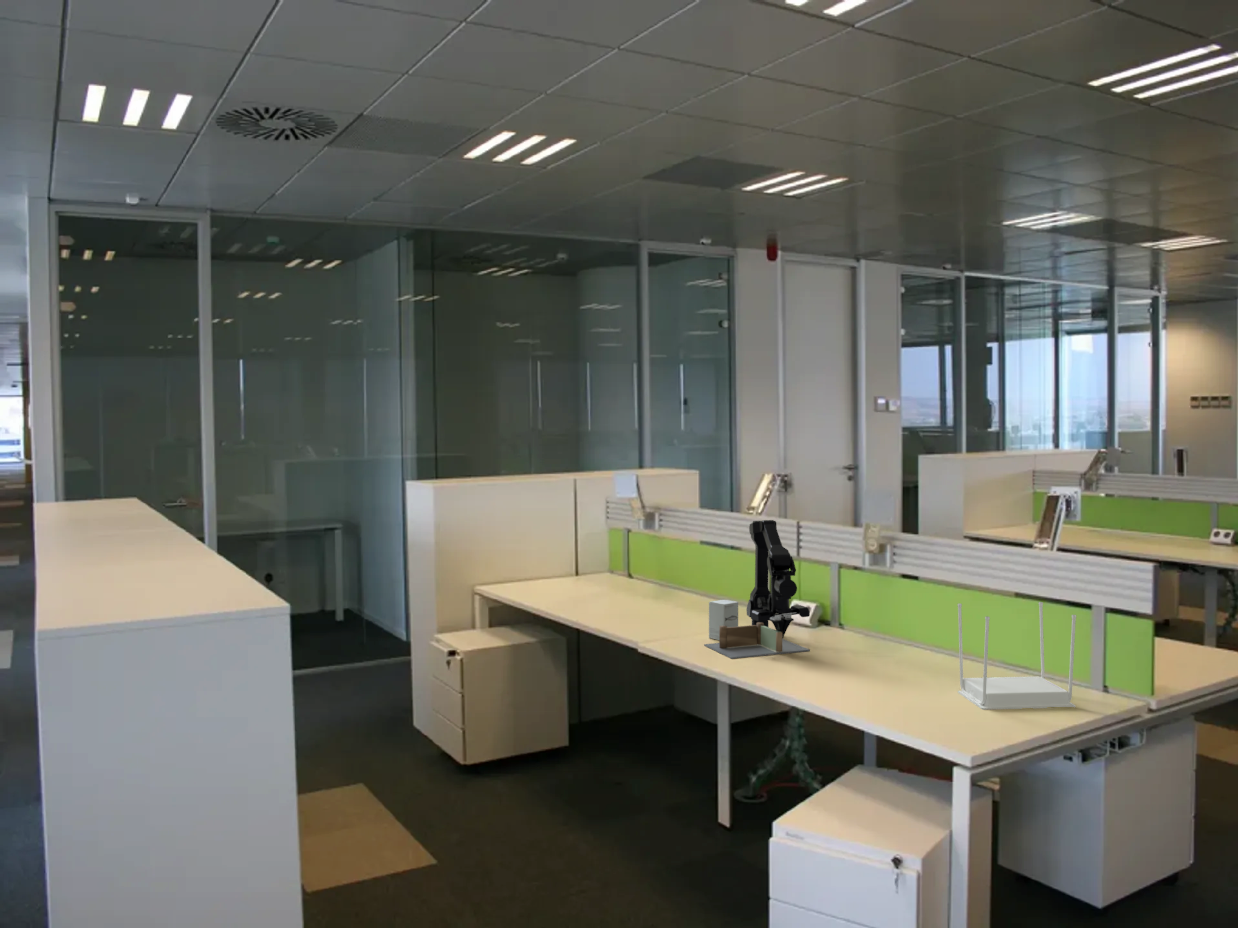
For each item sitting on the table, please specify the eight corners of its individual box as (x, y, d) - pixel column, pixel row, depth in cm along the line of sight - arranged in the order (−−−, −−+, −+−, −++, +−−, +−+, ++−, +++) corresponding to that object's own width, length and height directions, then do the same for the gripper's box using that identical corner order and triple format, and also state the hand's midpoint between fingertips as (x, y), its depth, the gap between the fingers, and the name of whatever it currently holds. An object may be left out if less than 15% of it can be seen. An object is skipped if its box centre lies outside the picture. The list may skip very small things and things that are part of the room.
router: (1077, 708, 264) (1078, 615, 263) (982, 710, 262) (983, 617, 261) (1042, 688, 283) (1043, 601, 282) (953, 690, 282) (954, 603, 280)
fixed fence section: (718, 647, 334) (718, 625, 334) (761, 643, 340) (761, 622, 340) (721, 648, 332) (721, 627, 332) (765, 644, 338) (765, 623, 337)
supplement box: (723, 641, 345) (723, 604, 345) (708, 638, 351) (708, 601, 350) (739, 638, 350) (738, 601, 349) (723, 634, 356) (723, 598, 355)
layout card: (704, 645, 339) (704, 643, 339) (779, 638, 349) (779, 636, 349) (731, 658, 320) (731, 656, 320) (809, 651, 330) (809, 649, 330)
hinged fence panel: (765, 643, 337) (765, 625, 337) (783, 651, 326) (783, 632, 326) (759, 644, 337) (759, 625, 336) (777, 651, 325) (777, 633, 325)
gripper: (792, 585, 340) (793, 631, 341) (742, 590, 334) (743, 637, 335) (810, 590, 330) (810, 638, 331) (758, 596, 323) (759, 644, 324)
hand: (780, 639), depth 331 cm, fingers closed
